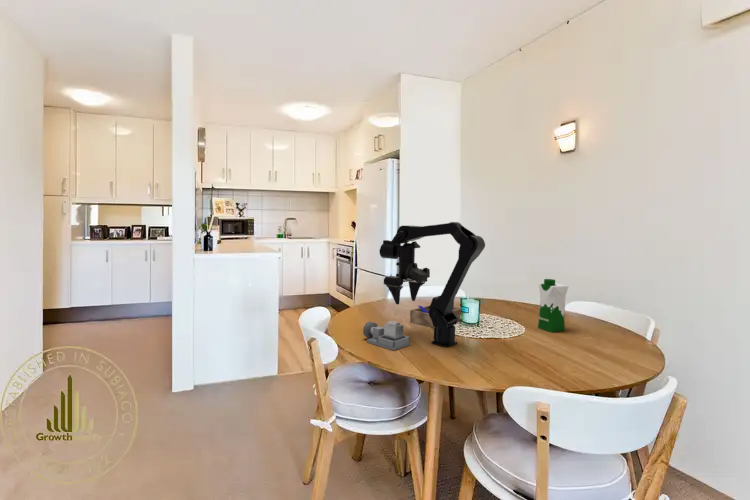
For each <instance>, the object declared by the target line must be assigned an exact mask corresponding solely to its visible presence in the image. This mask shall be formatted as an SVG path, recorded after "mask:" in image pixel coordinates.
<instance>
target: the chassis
mask: <svg viewBox="0 0 750 500" xmlns="http://www.w3.org/2000/svg"><path fill="white" fill-rule="evenodd" d="M377 326H378V327H372V328H371V330H370V333H371V334H373V338H368V339H366V343H367V344H370V345H374V346H378V347H381V348H384V349H387V350H390V351H397V350H400V349H401V348H402V349H403V348H405V347H408V346H411V336H407V335H404V334H403V339H400V340H397V341H391V340H388V339H384V326H380V325H377Z"/></svg>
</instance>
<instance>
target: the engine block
mask: <svg viewBox="0 0 750 500" xmlns="http://www.w3.org/2000/svg"><path fill="white" fill-rule="evenodd" d="M383 327H384V339H388V340H391V341H397V340H400V339H403V335H404V324H401V322H399V321H395V320H389V321H387V322H386V323H384V326H383Z"/></svg>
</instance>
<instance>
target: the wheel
mask: <svg viewBox="0 0 750 500" xmlns="http://www.w3.org/2000/svg"><path fill="white" fill-rule="evenodd" d="M378 326H379V325H378V324H377V323H375V322H373V321H367V322H366V323H365V324H364V325H363V330H362V333H363V336H364V337H365V338H368V339H371V338H373V334H371V333H370V330H371V328H372V327H378Z"/></svg>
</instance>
